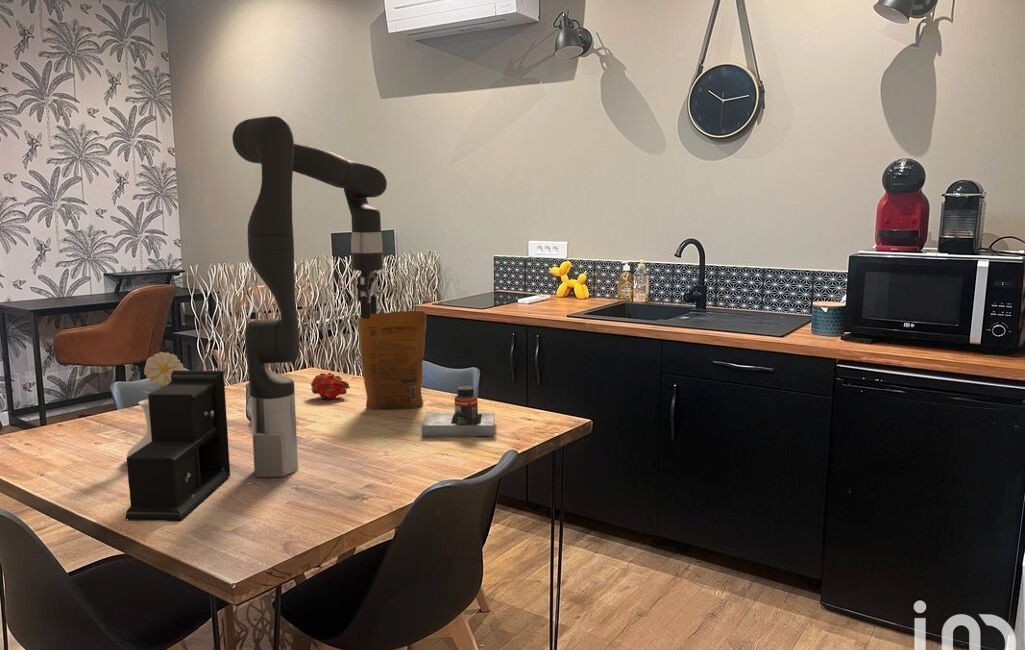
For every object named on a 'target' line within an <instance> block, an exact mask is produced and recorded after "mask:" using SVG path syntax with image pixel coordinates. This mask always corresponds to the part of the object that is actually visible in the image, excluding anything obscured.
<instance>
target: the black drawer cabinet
mask: <svg viewBox="0 0 1025 650" xmlns="http://www.w3.org/2000/svg"><path fill="white" fill-rule="evenodd" d="M224 377H225V376H224V370H184V369H182V370H174V371H173V372H172V373H171V383H169V384H167V385H165V386H163V385H162V387H161V388H160V387H159V388H157V389H155V390H153V391H152V392H151V391H150V392H151V393H150V394H147V395H148V399H149V412H150V425H151V438H152V442H150V443H149V444H147V445H145V446H144V447H142V448H141V449H139V450H138V451H136V452H135V453H133V454H132V455H130V456H129V457H127V456H126V469H127V480H128V481H127V482H128V489H129V490H128V491H129V500H130V507H129V508H127V509H126V512H125V521H141V520H167V521H166V522H182V521H183V520H184V519H185V518H186V517H187V516H189V515H190V513H192V512H193V511H194V510H195V509H196V508H197V507H198V506H199V505H201V504H202V503H203V502H204V501H205V500H206V499H207V498H208V497H209V496H210V495H211V494H212V493H213V492H215V491H216V490H217V489H218V488H219V487H220V486H221V485H222V484H223V483H224V482H225V481H226V480H228V478H230V477H231V466H230V463H231V462H230V451H229V448H230V447H229V433H228V422H227V421H228V419H227V417H228V416H227V404H226V403H227V401H226V388H225V387H226V386H225V379H224ZM127 519H128V520H127Z"/></svg>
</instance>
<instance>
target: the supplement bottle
mask: <svg viewBox="0 0 1025 650" xmlns="http://www.w3.org/2000/svg"><path fill="white" fill-rule="evenodd" d="M474 391H475V390H474V387H473V386H470V385H462V386H459V387H457V394H456V395H455V397H454V412H455V424H478V412H479V403H478V400H479V399H478V397H477V395H476V394H474Z"/></svg>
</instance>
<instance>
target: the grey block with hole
mask: <svg viewBox="0 0 1025 650" xmlns="http://www.w3.org/2000/svg"><path fill="white" fill-rule="evenodd" d="M495 414H496V412H487V411H486V412H479V411H478V424H455V411H454V412H453V411H451V412H445V411H443V412H442V411H441V412H437V411H436V412H430V411H429V412H426V414H425V416H424V418H423V421H422V424H421V425H420V426H421V438H466V437H465V436H468V437H467V438H471V437H470V436H494V435H495V425H494V424H495V421H496V419H495V416H496V415H495Z"/></svg>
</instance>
